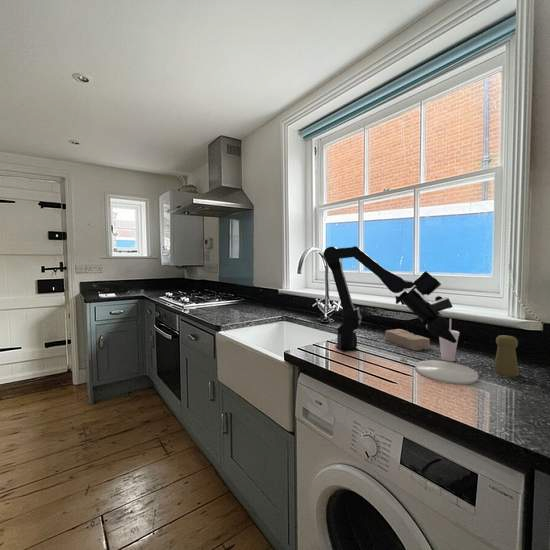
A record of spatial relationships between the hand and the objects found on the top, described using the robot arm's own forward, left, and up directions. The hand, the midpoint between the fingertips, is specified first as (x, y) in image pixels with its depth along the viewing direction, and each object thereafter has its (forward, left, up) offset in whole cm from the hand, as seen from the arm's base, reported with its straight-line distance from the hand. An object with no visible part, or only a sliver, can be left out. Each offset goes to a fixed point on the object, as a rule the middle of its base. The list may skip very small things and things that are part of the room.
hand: (453, 339), depth 98 cm
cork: (+6, -13, -7) cm, 16 cm away
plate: (-12, -9, -7) cm, 17 cm away
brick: (-1, +21, -8) cm, 22 cm away
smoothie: (-1, +1, -7) cm, 7 cm away
